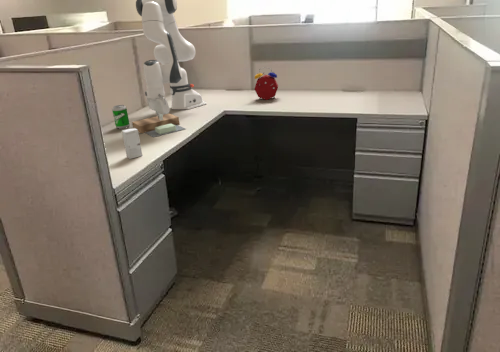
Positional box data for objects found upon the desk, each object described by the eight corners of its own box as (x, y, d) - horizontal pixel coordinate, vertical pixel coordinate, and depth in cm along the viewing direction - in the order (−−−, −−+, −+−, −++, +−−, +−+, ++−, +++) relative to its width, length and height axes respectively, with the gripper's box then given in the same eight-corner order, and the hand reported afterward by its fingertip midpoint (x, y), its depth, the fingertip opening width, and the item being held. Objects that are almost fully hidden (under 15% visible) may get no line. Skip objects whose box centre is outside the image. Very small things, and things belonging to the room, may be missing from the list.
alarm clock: (278, 97, 269) (277, 65, 261) (278, 100, 261) (276, 67, 253) (256, 98, 271) (253, 67, 263) (254, 101, 263) (252, 69, 255)
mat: (176, 125, 226) (176, 124, 226) (185, 129, 218) (185, 128, 218) (145, 132, 217) (145, 132, 217) (153, 137, 209) (153, 136, 209)
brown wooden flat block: (170, 120, 237) (169, 113, 235) (179, 124, 228) (178, 117, 226) (133, 129, 226) (131, 121, 225) (141, 133, 217) (139, 126, 215)
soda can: (121, 125, 236) (117, 104, 231) (132, 125, 233) (128, 104, 228) (113, 129, 229) (108, 107, 224) (124, 129, 226) (120, 108, 222)
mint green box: (175, 125, 216) (176, 130, 217) (170, 123, 220) (171, 127, 221) (159, 129, 211) (160, 134, 212) (154, 127, 216) (155, 131, 217)
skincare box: (129, 159, 181) (124, 132, 177) (126, 156, 185) (120, 130, 180) (143, 155, 184) (138, 129, 180) (139, 153, 188) (134, 127, 183)
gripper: (170, 94, 206) (174, 121, 212) (154, 89, 222) (158, 115, 228) (158, 97, 203) (162, 124, 209) (143, 92, 219) (147, 117, 225)
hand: (160, 119), depth 218 cm, fingers closed
